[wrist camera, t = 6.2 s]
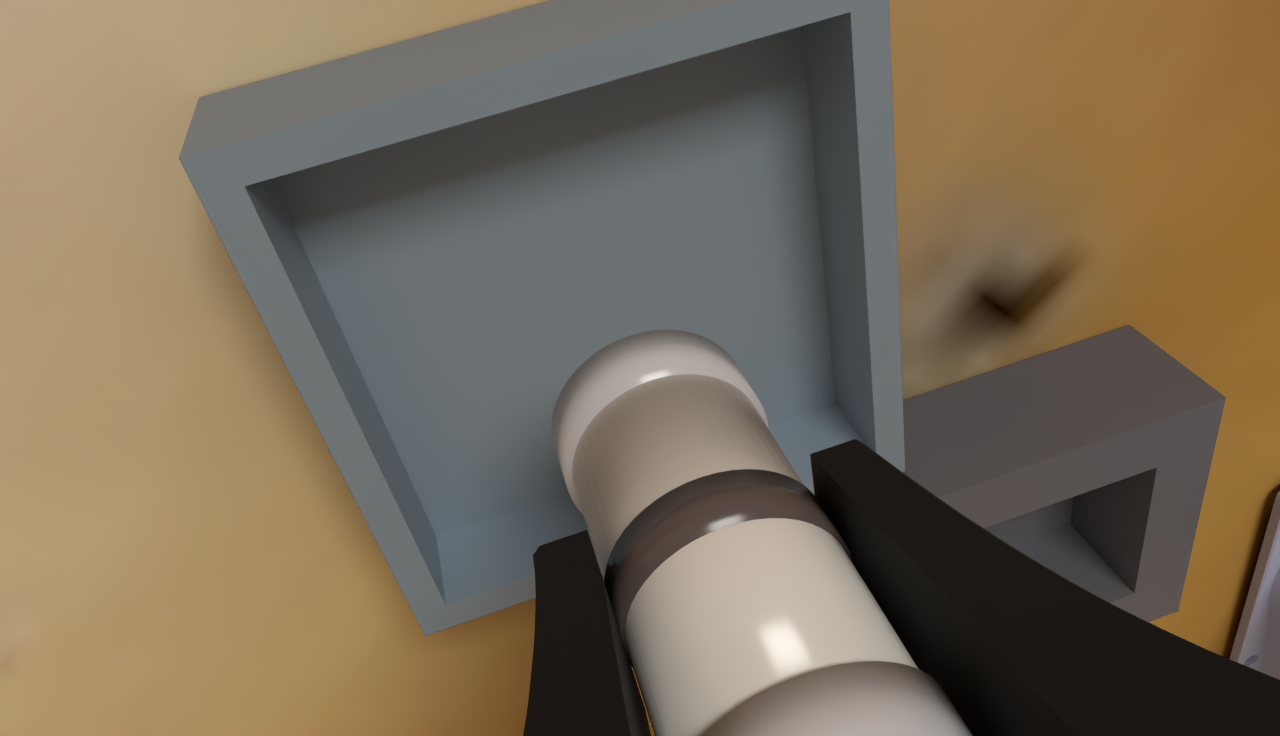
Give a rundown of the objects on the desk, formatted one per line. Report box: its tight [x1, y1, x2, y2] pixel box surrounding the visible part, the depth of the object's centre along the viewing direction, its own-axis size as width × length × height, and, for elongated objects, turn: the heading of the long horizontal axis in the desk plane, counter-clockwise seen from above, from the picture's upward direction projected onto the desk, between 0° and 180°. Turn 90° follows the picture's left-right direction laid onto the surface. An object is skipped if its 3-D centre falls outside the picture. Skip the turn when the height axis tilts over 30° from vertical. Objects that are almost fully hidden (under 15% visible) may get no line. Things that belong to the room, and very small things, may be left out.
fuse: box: [551, 330, 972, 736], centre depth 12 cm, size 3×3×7 cm
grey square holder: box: [903, 325, 1226, 622], centre depth 23 cm, size 7×7×3 cm
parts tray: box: [179, 0, 905, 636], centre depth 17 cm, size 10×10×2 cm
